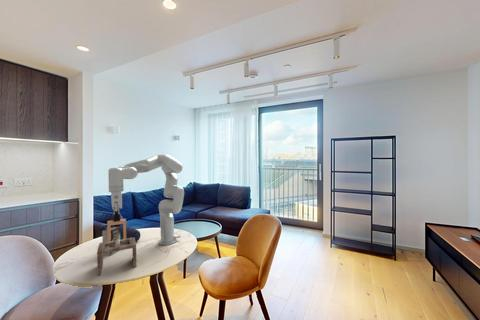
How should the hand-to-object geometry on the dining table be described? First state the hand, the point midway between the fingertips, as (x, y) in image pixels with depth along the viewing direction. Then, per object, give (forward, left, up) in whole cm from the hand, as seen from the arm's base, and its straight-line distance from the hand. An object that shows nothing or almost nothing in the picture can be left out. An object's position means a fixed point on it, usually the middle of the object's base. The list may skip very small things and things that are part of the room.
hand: (116, 220), depth 128 cm
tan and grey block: (0, 0, -11) cm, 11 cm away
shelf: (0, 0, -27) cm, 27 cm away
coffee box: (+4, -23, -27) cm, 36 cm away
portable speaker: (-5, -42, -28) cm, 50 cm away
